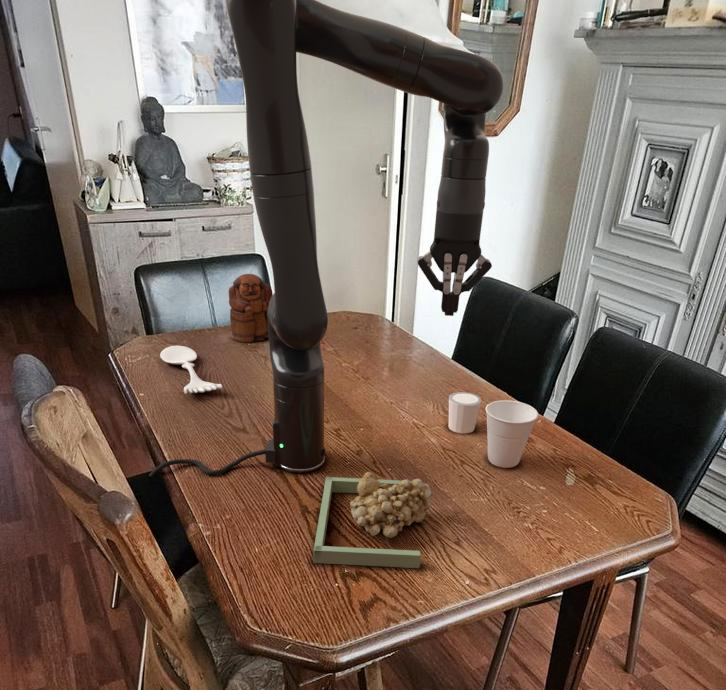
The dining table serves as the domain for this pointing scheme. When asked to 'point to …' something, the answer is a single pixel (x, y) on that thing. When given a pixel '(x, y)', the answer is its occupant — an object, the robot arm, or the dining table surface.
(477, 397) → the white short cylinder
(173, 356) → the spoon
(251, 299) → the wooden figurine
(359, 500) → the mineral formation
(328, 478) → the frame
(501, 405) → the cup
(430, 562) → the dining table surface
